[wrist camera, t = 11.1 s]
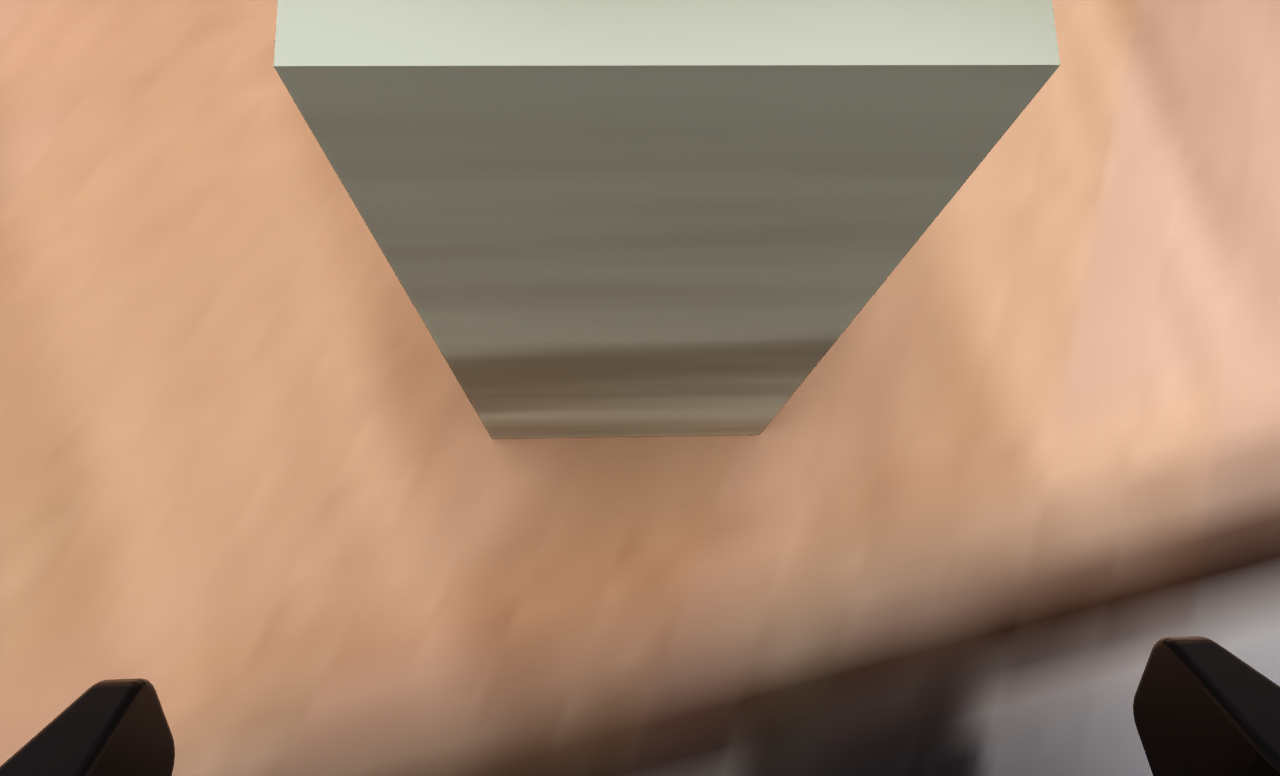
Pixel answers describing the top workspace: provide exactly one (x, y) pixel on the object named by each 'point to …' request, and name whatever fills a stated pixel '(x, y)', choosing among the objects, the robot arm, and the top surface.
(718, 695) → the top surface
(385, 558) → the top surface
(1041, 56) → the sage block
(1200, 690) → the robot arm
